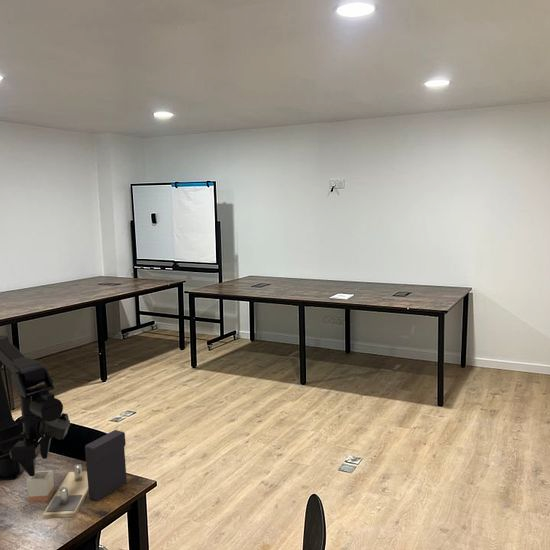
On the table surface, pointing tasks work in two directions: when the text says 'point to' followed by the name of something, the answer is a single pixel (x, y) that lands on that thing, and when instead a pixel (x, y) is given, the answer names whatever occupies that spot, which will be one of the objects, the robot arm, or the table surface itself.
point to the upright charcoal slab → (105, 464)
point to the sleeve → (40, 486)
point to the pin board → (75, 496)
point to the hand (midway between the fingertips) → (38, 466)
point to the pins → (64, 490)
